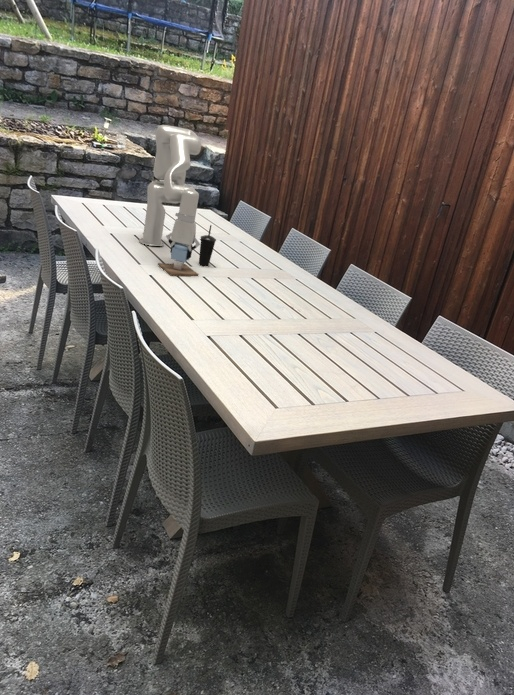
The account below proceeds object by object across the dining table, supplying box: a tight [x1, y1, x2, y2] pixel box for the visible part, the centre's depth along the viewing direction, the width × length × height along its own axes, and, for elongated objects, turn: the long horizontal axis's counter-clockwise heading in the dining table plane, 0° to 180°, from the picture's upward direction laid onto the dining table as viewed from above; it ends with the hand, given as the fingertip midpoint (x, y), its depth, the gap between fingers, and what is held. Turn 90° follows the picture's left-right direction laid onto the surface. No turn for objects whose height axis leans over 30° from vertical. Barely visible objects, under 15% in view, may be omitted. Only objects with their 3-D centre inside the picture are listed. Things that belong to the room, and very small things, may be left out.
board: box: [157, 262, 199, 277], centre depth 269 cm, size 14×14×1 cm
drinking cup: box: [198, 224, 217, 267], centre depth 283 cm, size 8×8×20 cm
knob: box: [170, 242, 190, 263], centre depth 265 cm, size 7×7×7 cm
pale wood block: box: [173, 260, 185, 270], centre depth 268 cm, size 3×3×4 cm
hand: (180, 256), depth 266 cm, fingers closed on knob, 6 cm apart
